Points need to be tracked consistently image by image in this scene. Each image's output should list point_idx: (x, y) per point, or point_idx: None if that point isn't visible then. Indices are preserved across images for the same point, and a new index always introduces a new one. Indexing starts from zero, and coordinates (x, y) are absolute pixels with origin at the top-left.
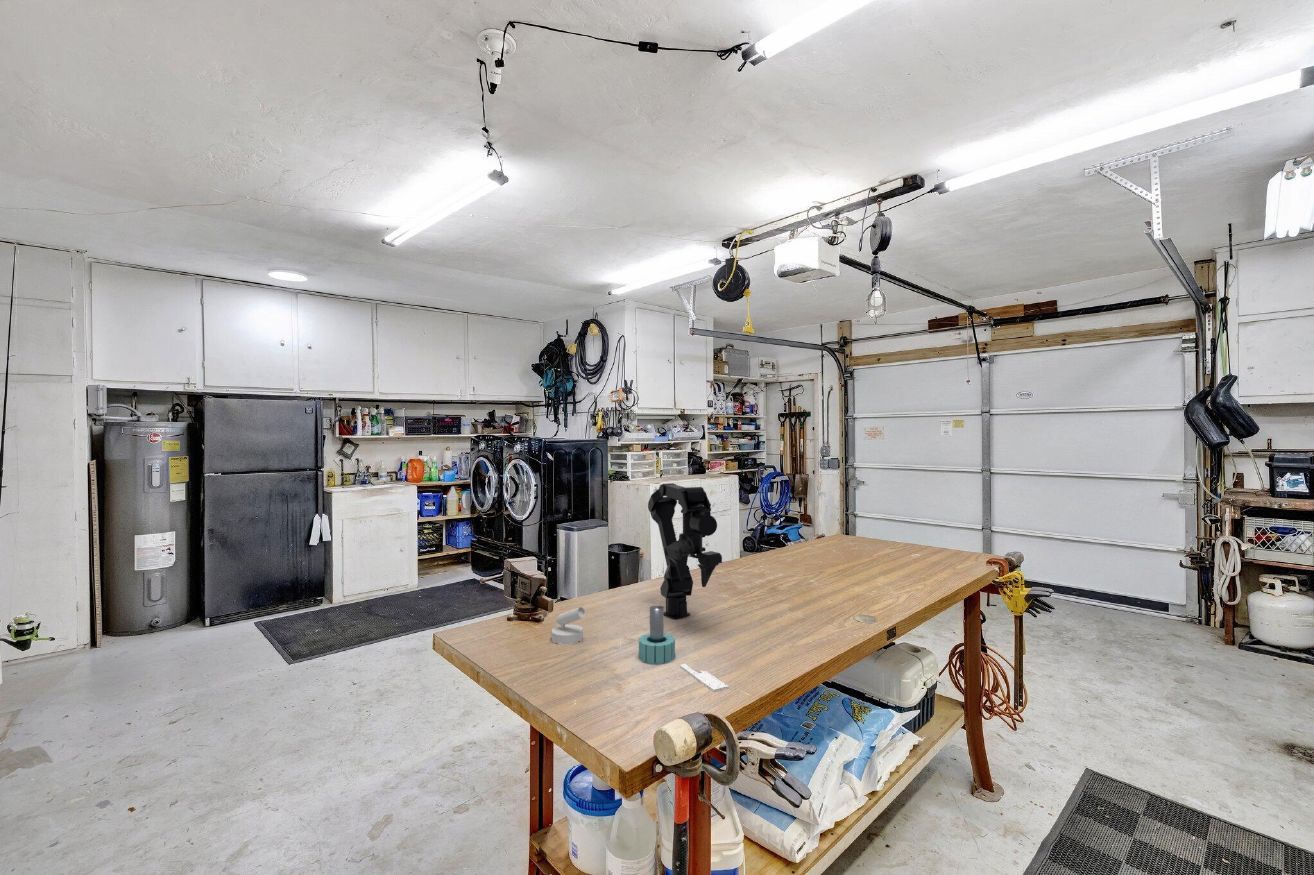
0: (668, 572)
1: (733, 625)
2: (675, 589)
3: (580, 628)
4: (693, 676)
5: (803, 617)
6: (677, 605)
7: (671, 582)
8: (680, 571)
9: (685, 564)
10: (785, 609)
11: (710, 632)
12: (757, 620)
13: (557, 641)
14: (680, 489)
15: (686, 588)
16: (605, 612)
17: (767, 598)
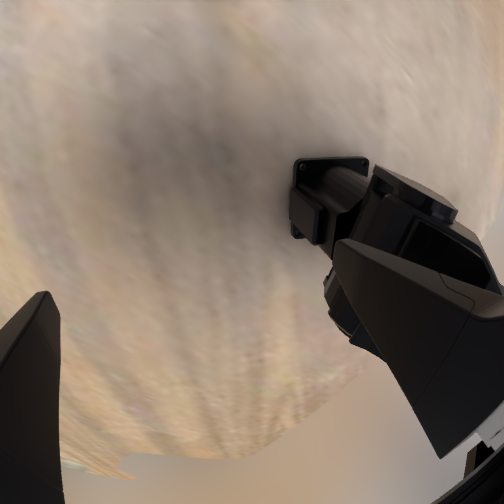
0: (473, 242)
1: (115, 301)
2: (364, 209)
3: None
4: None
5: (103, 430)
6: (325, 197)
7: (407, 206)
8: (393, 285)
9: (409, 381)
10: (166, 430)
11: (89, 194)
12: (124, 369)
13: None
14: None
15: (334, 273)
16: (469, 50)
17: (247, 428)
